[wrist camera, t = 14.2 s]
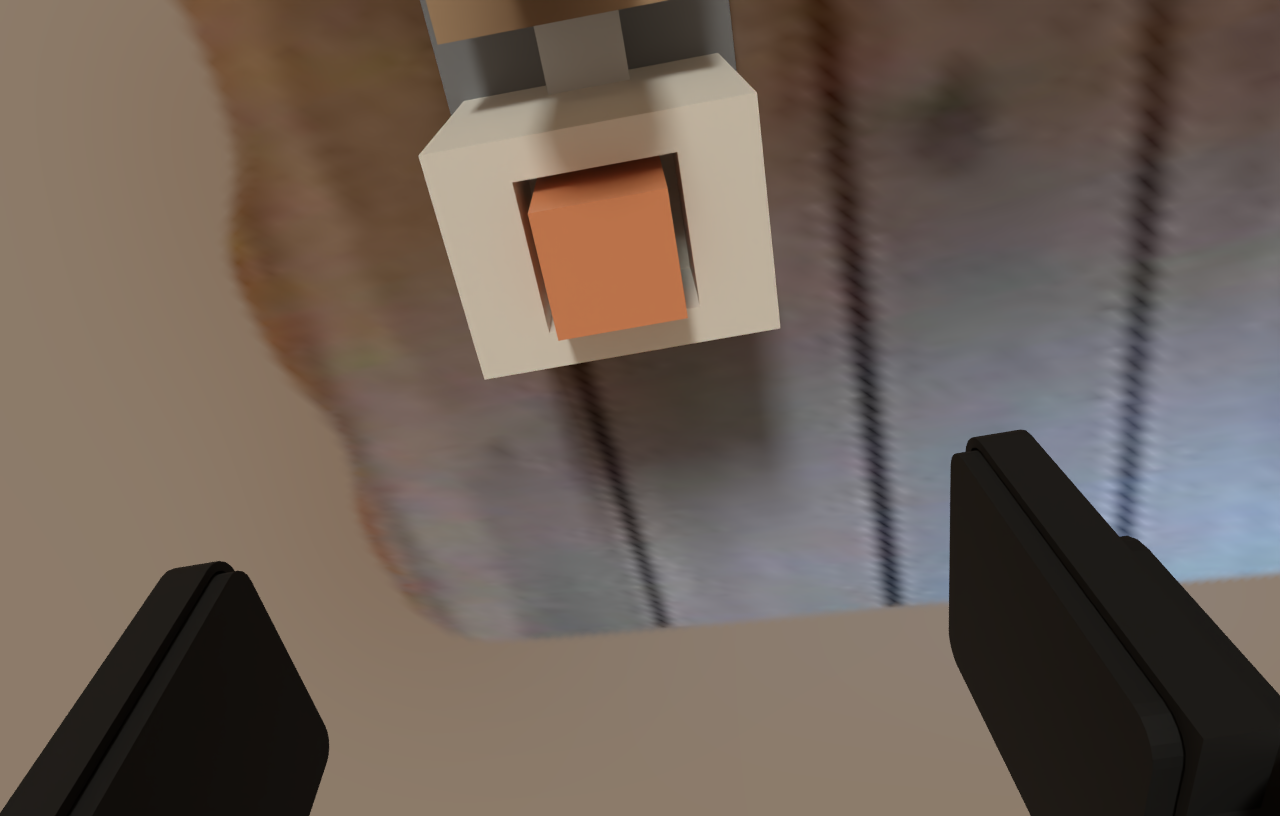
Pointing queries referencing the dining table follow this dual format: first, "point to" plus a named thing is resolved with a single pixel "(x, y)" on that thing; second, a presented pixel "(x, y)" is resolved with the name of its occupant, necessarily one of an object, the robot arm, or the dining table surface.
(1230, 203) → the dining table surface
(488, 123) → the rail base
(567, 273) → the block
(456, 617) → the dining table surface
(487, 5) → the carriage
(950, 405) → the dining table surface
